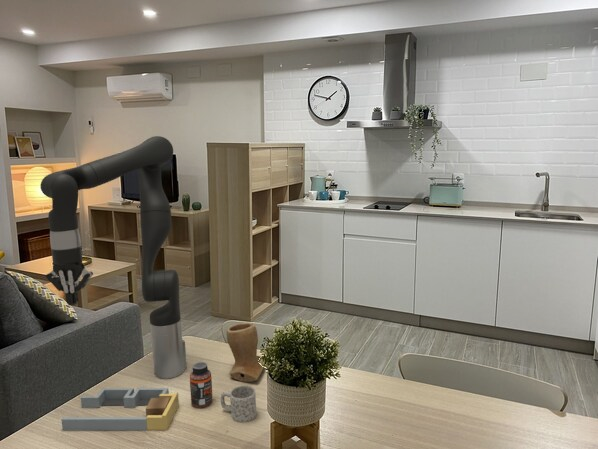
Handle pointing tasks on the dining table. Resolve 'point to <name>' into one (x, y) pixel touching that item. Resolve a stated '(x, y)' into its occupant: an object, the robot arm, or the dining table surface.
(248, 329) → the tan boot vase
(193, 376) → the supplement bottle
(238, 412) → the mug
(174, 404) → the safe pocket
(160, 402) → the walnut block
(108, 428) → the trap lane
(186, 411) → the dining table surface
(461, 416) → the dining table surface
